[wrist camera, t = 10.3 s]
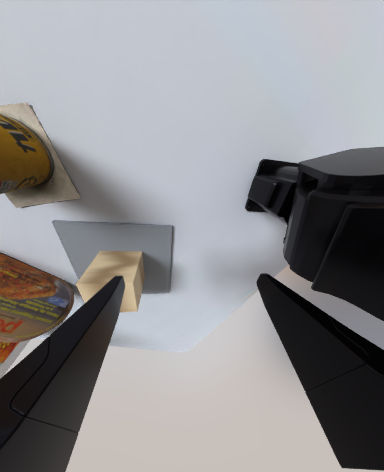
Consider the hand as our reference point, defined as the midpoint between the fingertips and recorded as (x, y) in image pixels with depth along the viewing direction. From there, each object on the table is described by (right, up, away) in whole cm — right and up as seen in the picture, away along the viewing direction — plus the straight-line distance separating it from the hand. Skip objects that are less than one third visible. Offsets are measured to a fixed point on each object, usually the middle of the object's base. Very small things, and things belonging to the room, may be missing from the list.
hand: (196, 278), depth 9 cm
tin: (-26, -3, +13) cm, 29 cm away
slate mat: (-11, -2, +14) cm, 18 cm away
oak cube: (-11, -2, +13) cm, 18 cm away
